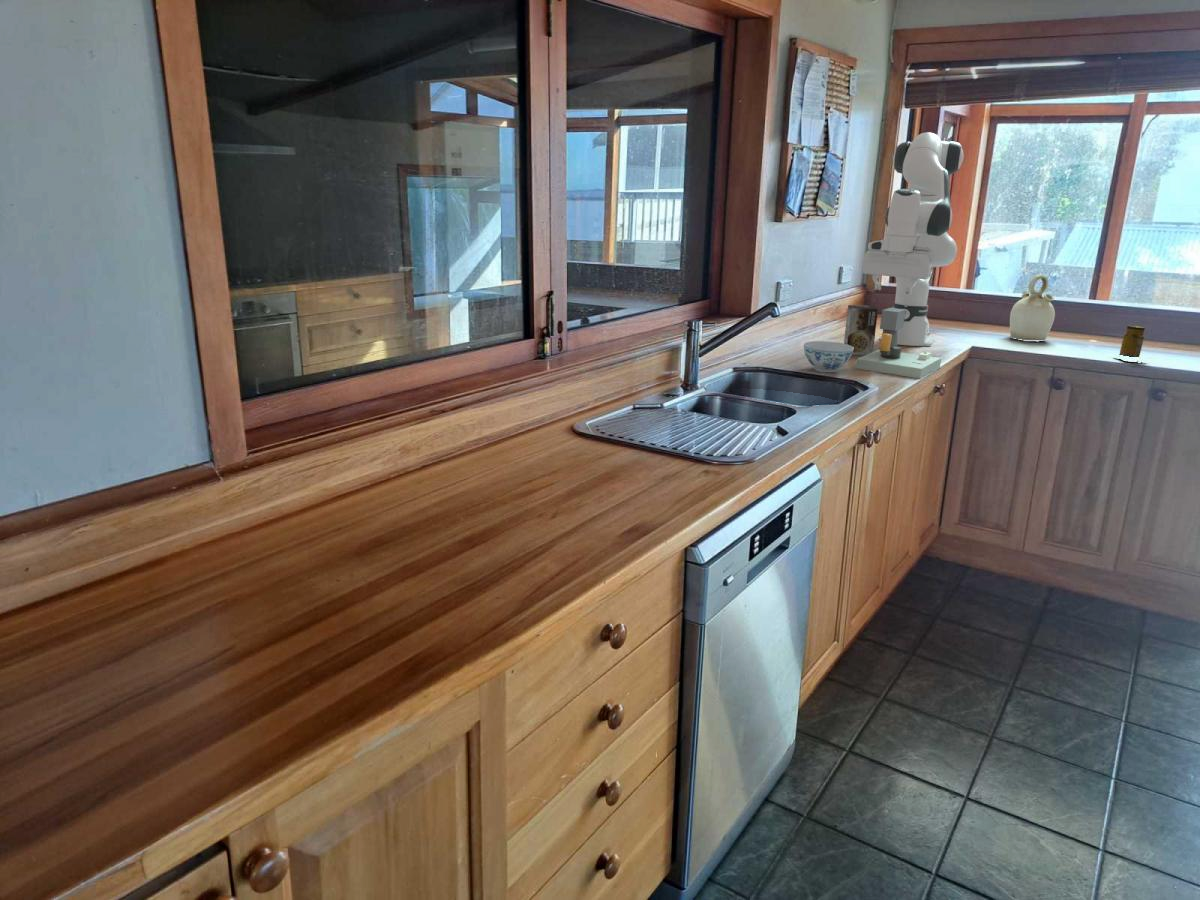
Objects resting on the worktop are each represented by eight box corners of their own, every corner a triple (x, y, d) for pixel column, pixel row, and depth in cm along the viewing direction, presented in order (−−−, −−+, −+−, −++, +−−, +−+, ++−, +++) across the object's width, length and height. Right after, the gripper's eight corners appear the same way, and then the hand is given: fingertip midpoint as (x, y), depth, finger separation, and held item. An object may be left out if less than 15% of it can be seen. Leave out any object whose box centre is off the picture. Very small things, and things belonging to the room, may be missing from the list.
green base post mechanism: (878, 357, 286) (885, 307, 280) (939, 367, 275) (948, 314, 270) (855, 368, 268) (862, 314, 263) (920, 378, 258) (929, 322, 252)
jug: (1057, 344, 324) (1070, 277, 316) (1016, 342, 324) (1029, 276, 316) (1038, 336, 339) (1050, 273, 331) (999, 335, 339) (1010, 271, 331)
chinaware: (848, 378, 255) (851, 352, 252) (797, 372, 260) (800, 347, 257) (852, 368, 268) (855, 344, 266) (804, 363, 273) (807, 339, 271)
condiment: (1131, 358, 301) (1139, 325, 298) (1147, 363, 293) (1155, 329, 289) (1111, 358, 301) (1119, 324, 297) (1126, 363, 293) (1134, 328, 289)
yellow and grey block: (883, 353, 276) (887, 329, 274) (902, 356, 273) (906, 331, 270) (872, 358, 267) (875, 333, 265) (891, 361, 264) (895, 336, 262)
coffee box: (868, 352, 294) (875, 305, 289) (872, 356, 288) (879, 308, 283) (842, 351, 295) (847, 304, 290) (845, 354, 289) (851, 307, 284)
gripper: (937, 247, 253) (930, 294, 257) (870, 242, 264) (864, 287, 268) (932, 248, 248) (924, 296, 252) (863, 243, 259) (857, 289, 263)
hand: (892, 291), depth 260 cm, fingers open, 8 cm apart
